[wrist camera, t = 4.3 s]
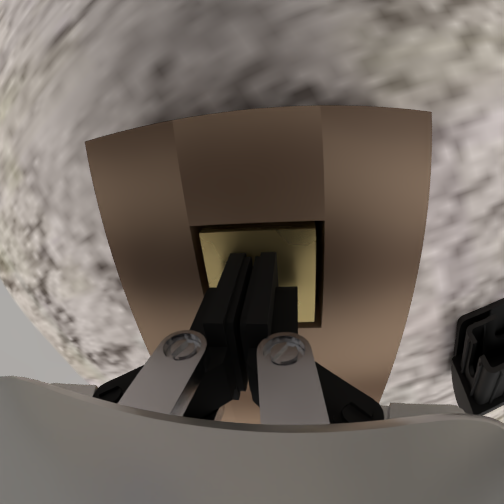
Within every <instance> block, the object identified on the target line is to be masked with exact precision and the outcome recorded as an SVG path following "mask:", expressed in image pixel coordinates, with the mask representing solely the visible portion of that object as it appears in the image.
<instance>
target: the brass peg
mask: <svg viewBox="0 0 504 504" xmlns="http://www.w3.org/2000/svg"><path fill="white" fill-rule="evenodd" d="M199 235H200V241H201V246H202V252H203V257H204V262H205V267H206V272H207V277H208V282H209V287H217V285H218V282H219V280H220V277H221V275H222V272H223V270H224V267H225V265H226V262H227V260H228V257H229V255H230V253H246V257H252V263H253V264H254V260H255V256H260V255H261V252H276V253H277V268H278V285H279V287H290V286H298V322H314V316H315V280H316V228H315V222H314V221H289V222H263V223H240V224H219V225H205V226H204V227H203V228H202V230H201V231H200V233H199Z"/></svg>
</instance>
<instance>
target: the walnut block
mask: <svg viewBox="0 0 504 504" xmlns="http://www.w3.org/2000/svg"><path fill="white" fill-rule="evenodd" d="M85 145H86V151H87V156H88V162H89V167H90V172H91V176H92V181H93V185H94V190H95V194H96V198H97V202H98V206H99V210H100V214H101V218H102V222H103V225H104V229H105V233H106V236H107V239H108V243H109V246H110V249H111V253H112V256H113V259H114V262H115V265H116V268H117V271H118V274H119V277H120V280H121V283H122V286H123V289H124V292H125V294H126V297H127V300H128V302H129V305H130V308H131V310H132V313H133V315H134V318H135V321H136V323H137V325H138V328H139V330H140V333H141V335H142V338H143V340H144V342H145V345H146V347H147V349H148V351H149V354H150V356H151V355H152V354H153V352H154V351H155V349H156V348H157V347H158V345H159V344H160V342H161V341H162V340H163V339H164V338H165V337H167V336H168V335H170V334H171V333H174V332H177V331H182V330H190V328H191V325H192V323H193V321H194V318H195V316H196V314H197V311H198V309H199V307H200V305H201V302H202V300H203V298H204V295H205V293H206V291H207V289H208V288H210V287H209V282H208V277H207V272H206V267H205V262H204V257H203V252H202V246H201V241H200V235H199V233H200V231H201V230H202V228H203V227H204V226H205V225H219V224H240V223H263V222H289V221H314V222H315V228H316V280H315V316H314V322H298V334H299V335H301V336H303V337H304V338H305V339H306V340H308V342H309V344H310V346H311V348H312V352H313V356H314V360H315V362H317V363H318V364H320V365H321V366H323V367H324V368H326V369H327V370H329V371H331V372H332V373H334V374H335V375H337V376H338V377H340V378H341V379H343V380H344V381H346V382H347V383H349V384H351V385H352V386H354V387H355V388H357V389H358V390H360V391H362V392H363V393H365V394H366V395H368V396H370V397H371V398H373V399H374V400H375V401H376V402H378V403H379V402H380V399H381V397H382V394H383V391H384V389H385V386H386V383H387V381H388V378H389V375H390V372H391V369H392V367H393V364H394V361H395V358H396V354H397V351H398V348H399V345H400V342H401V338H402V335H403V331H404V328H405V324H406V321H407V317H408V313H409V309H410V305H411V301H412V297H413V292H414V288H415V283H416V279H417V274H418V269H419V263H420V258H421V252H422V246H423V240H424V233H425V226H426V218H427V210H428V200H429V189H430V175H431V154H432V112H428V111H420V110H411V109H400V108H388V107H372V106H342V105H319V106H288V107H271V108H258V109H247V110H238V111H229V112H221V113H213V114H206V115H200V116H194V117H187V118H182V119H176V120H171V121H166V122H161V123H156V124H151V125H147V126H142V127H138V128H133V129H129V130H125V131H121V132H117V133H114V134H110V135H106V136H103V137H99V138H96V139H92V140H89V141H86V142H85ZM221 421H223V422H235V423H249V424H261V421H260V407H259V406H257V405H256V404H255V403H254V402H253V400H252V394H251V391H250V388H249V382H248V384H247V390H246V391H241V393H240V398H239V400H231V401H230V402H228V403H227V404H225V411H224V414H223V417H222V419H221Z"/></svg>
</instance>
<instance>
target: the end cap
mask: <svg viewBox="0 0 504 504" xmlns="http://www.w3.org/2000/svg"><path fill="white" fill-rule="evenodd" d="M451 370H452V382H453V388H454V393H455V397H456V400H457V403H458V406H459V408H461V409H463V410H464V412H465V413H466V414H473V415H481V416H482V415H485V414H487V413H489V412H491V411H493V410H495V409H497V408H499V407H501V406H503V405H504V298H503V299H501V300H499V301H496V302H494V303H492V304H490V305H487V306H485V307H483V308H480V309H478V310H476V311H473V312H471V313H468V314H466V315H463V316H462V317H461V318H460V319H459V320H458V323H457V331H456V339H455V347H454V357H453V358H452V369H451Z"/></svg>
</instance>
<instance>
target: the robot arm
mask: <svg viewBox="0 0 504 504" xmlns="http://www.w3.org/2000/svg"><path fill="white" fill-rule="evenodd" d="M248 382H249V388H250V391H251V394H252V400H253V402H254V403H255V404H256V405H257V406H259V407H260V421H261V424H249V423H235V422H223V421H221V419H222V417H223V414H224V411H225V404H227V403H228V402H230V401H231V400H239V398H240V393H241V391H246V390H247V384H248ZM0 504H504V423H502V422H500V421H498V420H496V419H493V418H490V417H486V416H481V415H473V414H466V413H465V412H464V410H463V409H461V408H459V407H458V406H455V405H437V404H405V403H390V405H389V406H382V405H380V404H379V403H378V402H376V401H375V400H374V399H373V398H371V397H370V396H368V395H366V394H365V393H363V392H362V391H360V390H358V389H357V388H355V387H354V386H352V385H351V384H349V383H347V382H346V381H344V380H343V379H341V378H340V377H338V376H337V375H335V374H334V373H332V372H331V371H329V370H327V369H326V368H324V367H323V366H321V365H320V364H318V363H317V362H315V360H314V356H313V352H312V348H311V346H310V344H309V342H308V340H306V339H305V338H304V337H303V336H301V335H299V334H298V286H290V287H279V285H278V268H277V253H276V252H261V255H260V256H255V260H254V264H253V263H252V257H246V253H230V255H229V257H228V260H227V262H226V265H225V267H224V270H223V272H222V275H221V277H220V280H219V282H218V285H217V287H210V288H208V289H207V291H206V293H205V295H204V298H203V300H202V302H201V305H200V307H199V309H198V311H197V314H196V316H195V318H194V321H193V323H192V325H191V328H190V330H182V331H177V332H174V333H171V334H170V335H168V336H167V337H165V338H164V339H163V340H162V341H161V342H160V344H159V345H158V347H157V348H156V349H155V351H154V352H153V354H152V355H151V356H150V358H149V359H148V361H147V362H146V363H145V365H143V366H141V367H139V368H137V369H134V370H132V371H130V372H128V373H126V374H124V375H122V376H119V377H117V378H115V379H113V380H111V381H109V382H106V383H105V384H103V385H101V386H100V387H99V388H98V387H97V386H96V385H77V384H60V383H53V384H48V383H45V382H41V381H38V380H34V379H29V378H25V377H17V376H4V377H0Z"/></svg>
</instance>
